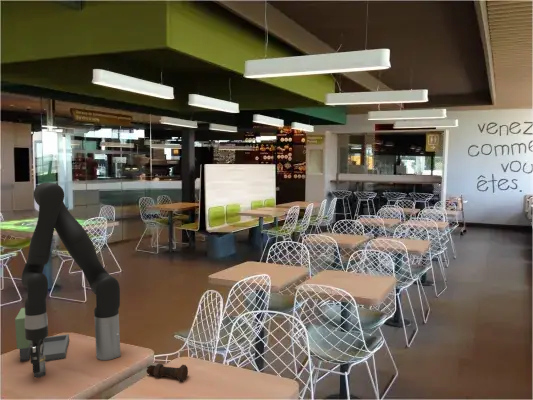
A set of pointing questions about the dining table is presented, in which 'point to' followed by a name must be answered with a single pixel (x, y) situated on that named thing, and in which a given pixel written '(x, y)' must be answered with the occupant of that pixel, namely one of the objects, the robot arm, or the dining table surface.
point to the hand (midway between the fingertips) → (38, 367)
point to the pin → (41, 367)
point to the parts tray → (55, 347)
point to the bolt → (168, 371)
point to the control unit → (22, 337)
